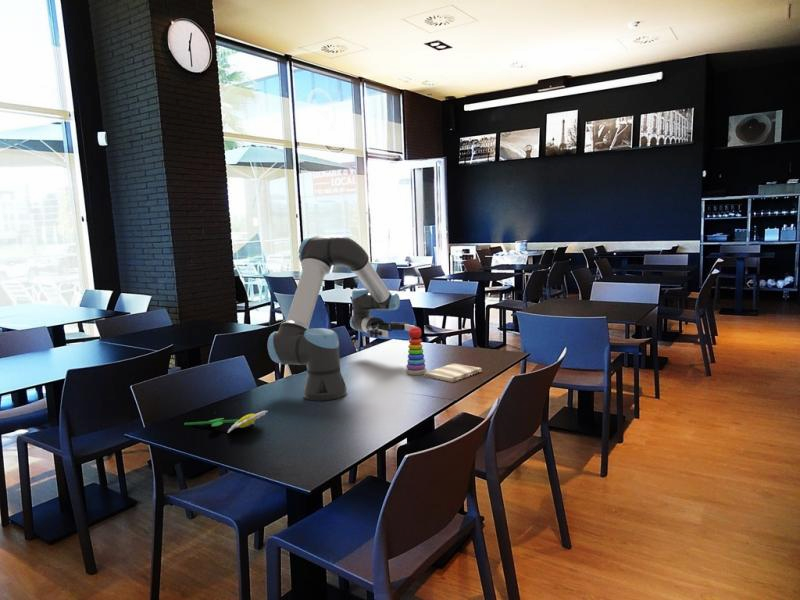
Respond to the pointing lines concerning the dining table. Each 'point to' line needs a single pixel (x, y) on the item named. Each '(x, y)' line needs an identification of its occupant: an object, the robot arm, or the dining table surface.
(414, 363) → the stacking toy
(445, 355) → the dining table surface
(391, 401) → the dining table surface
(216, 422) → the decorative flower
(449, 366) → the folded striped towel
